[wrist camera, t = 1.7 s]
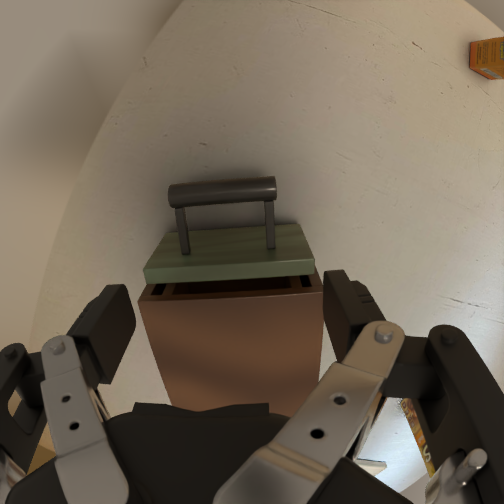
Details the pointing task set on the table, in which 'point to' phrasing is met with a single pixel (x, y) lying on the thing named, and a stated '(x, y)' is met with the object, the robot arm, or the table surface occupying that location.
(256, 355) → the cabinet
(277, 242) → the drawer
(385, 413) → the table surface
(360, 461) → the hard drive
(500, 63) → the supplement box
